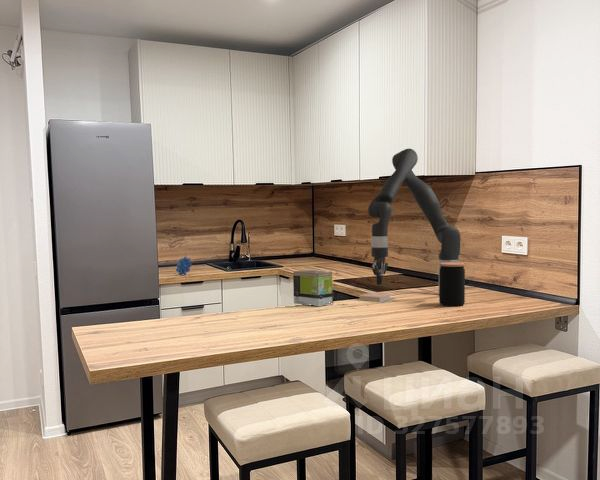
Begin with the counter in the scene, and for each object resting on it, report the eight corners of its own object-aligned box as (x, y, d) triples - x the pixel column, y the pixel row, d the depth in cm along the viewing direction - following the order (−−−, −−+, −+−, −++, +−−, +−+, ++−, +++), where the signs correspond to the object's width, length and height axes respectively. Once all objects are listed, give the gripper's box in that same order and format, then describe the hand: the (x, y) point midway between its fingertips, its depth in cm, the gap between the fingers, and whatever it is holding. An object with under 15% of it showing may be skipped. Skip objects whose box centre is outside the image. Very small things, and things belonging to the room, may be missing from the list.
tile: (389, 294, 253) (379, 297, 245) (389, 298, 253) (379, 301, 245) (369, 292, 259) (359, 295, 250) (369, 297, 259) (359, 300, 251)
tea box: (333, 304, 249) (332, 271, 248) (318, 307, 242) (317, 272, 241) (307, 301, 259) (307, 268, 258) (292, 303, 252) (292, 270, 251)
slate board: (396, 301, 255) (396, 298, 255) (383, 305, 243) (383, 302, 243) (369, 299, 263) (369, 295, 263) (354, 303, 251) (354, 299, 251)
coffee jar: (466, 303, 247) (466, 262, 246) (462, 307, 238) (462, 264, 237) (441, 302, 252) (441, 262, 251) (437, 305, 242) (437, 264, 241)
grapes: (187, 273, 380) (187, 256, 380) (193, 274, 376) (193, 256, 375) (172, 275, 372) (172, 257, 372) (178, 276, 367) (178, 257, 367)
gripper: (380, 247, 248) (380, 286, 249) (393, 245, 259) (393, 283, 260) (365, 246, 252) (365, 285, 253) (378, 245, 263) (378, 282, 264)
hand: (379, 284), depth 256 cm, fingers closed
